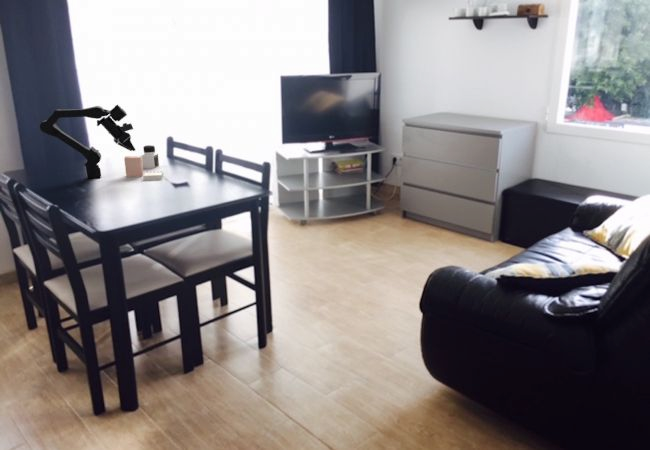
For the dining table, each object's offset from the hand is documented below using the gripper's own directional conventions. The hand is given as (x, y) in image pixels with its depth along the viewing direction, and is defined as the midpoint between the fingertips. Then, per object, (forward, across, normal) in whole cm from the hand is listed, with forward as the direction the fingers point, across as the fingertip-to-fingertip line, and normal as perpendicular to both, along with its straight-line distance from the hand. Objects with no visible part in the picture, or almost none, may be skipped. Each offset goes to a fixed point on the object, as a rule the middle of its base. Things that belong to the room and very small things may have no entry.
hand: (133, 150), depth 295 cm
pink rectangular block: (+10, 0, +8) cm, 13 cm away
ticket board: (+16, -10, +3) cm, 19 cm away
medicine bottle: (+15, +18, -3) cm, 24 cm away
